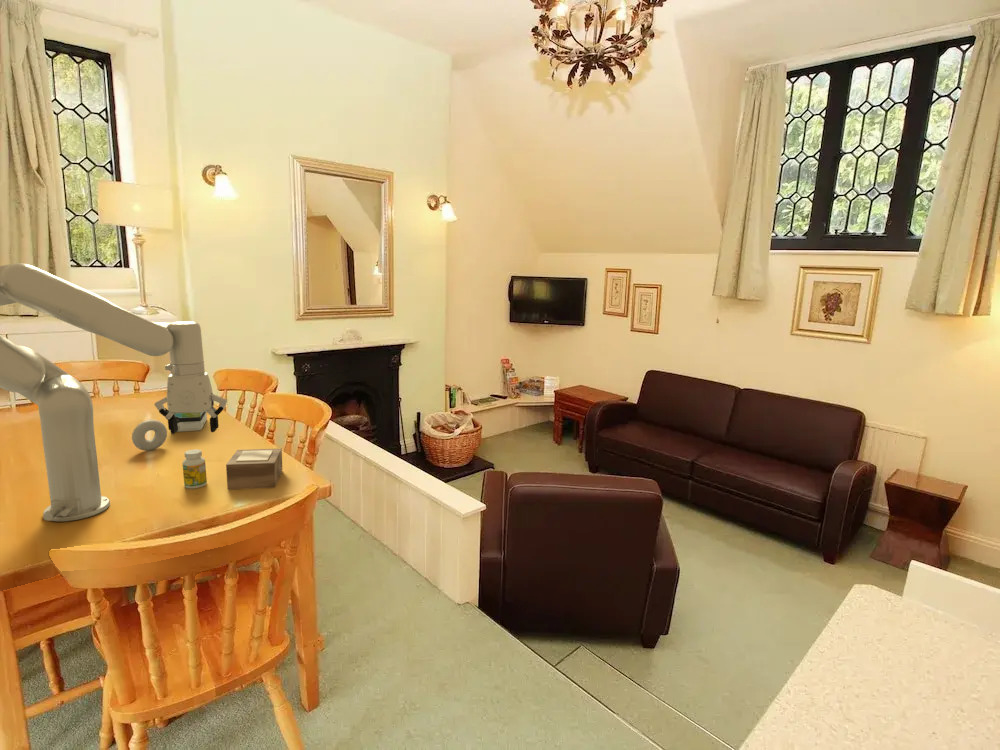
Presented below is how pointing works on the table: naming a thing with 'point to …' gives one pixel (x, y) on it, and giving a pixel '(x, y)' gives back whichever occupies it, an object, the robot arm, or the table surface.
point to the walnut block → (254, 468)
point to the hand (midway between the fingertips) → (194, 431)
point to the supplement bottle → (194, 469)
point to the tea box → (191, 421)
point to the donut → (144, 427)
